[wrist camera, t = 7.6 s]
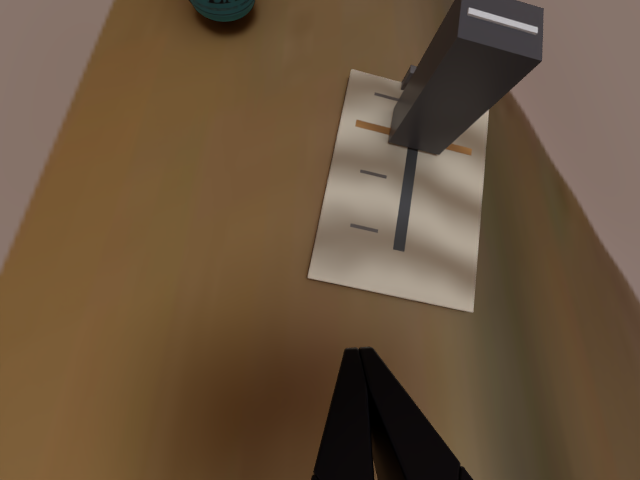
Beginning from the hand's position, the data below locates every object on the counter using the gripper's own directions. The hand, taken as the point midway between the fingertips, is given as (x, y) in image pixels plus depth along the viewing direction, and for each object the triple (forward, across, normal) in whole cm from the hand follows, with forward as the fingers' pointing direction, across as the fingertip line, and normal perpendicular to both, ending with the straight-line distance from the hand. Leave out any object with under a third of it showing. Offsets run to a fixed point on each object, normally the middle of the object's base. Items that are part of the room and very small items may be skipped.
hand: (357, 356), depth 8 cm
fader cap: (+20, -8, -4) cm, 22 cm away
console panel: (+18, -7, 0) cm, 19 cm away
